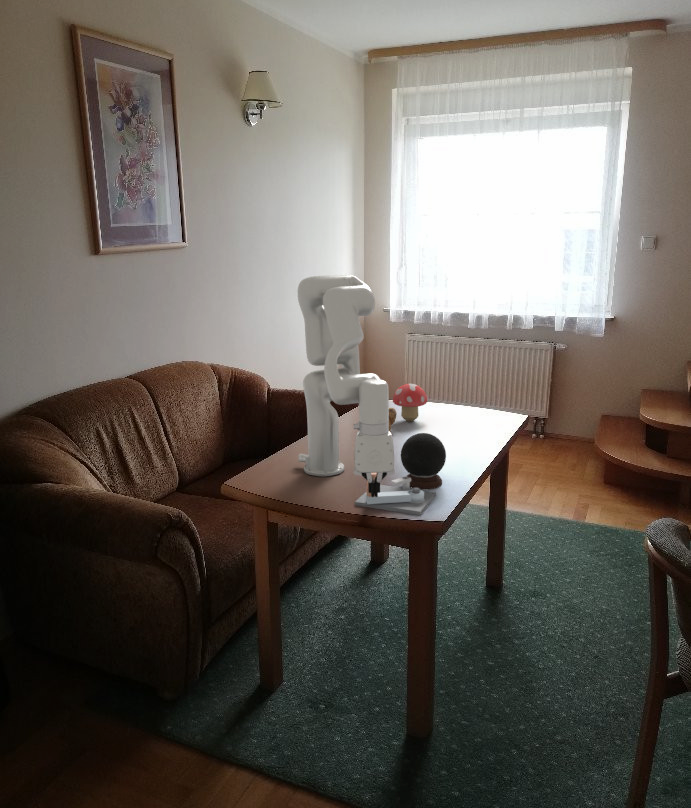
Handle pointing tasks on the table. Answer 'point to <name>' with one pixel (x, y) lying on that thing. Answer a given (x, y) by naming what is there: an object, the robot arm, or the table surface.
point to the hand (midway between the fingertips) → (374, 495)
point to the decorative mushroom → (409, 400)
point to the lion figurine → (392, 417)
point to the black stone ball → (423, 460)
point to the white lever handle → (394, 495)
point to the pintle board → (402, 507)
